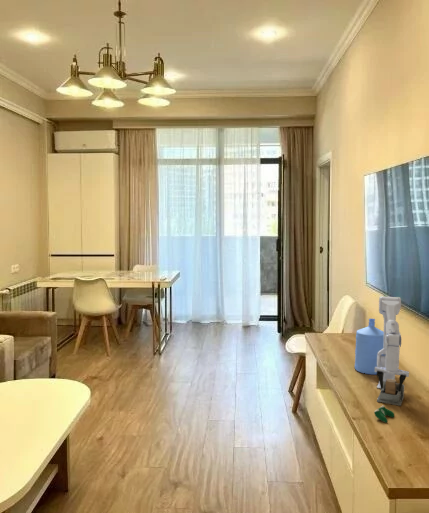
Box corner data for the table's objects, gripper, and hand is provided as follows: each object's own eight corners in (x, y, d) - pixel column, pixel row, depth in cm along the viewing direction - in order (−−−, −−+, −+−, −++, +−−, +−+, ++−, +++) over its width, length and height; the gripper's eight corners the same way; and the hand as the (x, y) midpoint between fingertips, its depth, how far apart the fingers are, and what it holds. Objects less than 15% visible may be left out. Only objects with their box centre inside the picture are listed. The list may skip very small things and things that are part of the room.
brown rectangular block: (386, 395, 231) (387, 378, 230) (395, 397, 229) (396, 380, 228) (385, 398, 227) (385, 381, 226) (394, 400, 225) (395, 382, 225)
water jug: (388, 375, 263) (391, 322, 260) (358, 374, 263) (361, 322, 261) (379, 366, 278) (382, 316, 276) (351, 365, 279) (353, 315, 276)
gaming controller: (389, 419, 211) (380, 407, 214) (396, 415, 209) (386, 402, 212) (380, 426, 204) (371, 413, 207) (387, 421, 202) (377, 408, 205)
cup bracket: (381, 393, 236) (381, 380, 236) (403, 397, 232) (404, 384, 231) (376, 401, 226) (377, 388, 225) (400, 405, 221) (401, 392, 221)
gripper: (374, 360, 226) (372, 389, 227) (408, 364, 219) (406, 395, 221) (376, 356, 232) (375, 384, 233) (410, 360, 226) (408, 390, 227)
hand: (390, 389), depth 228 cm, fingers open, 7 cm apart
